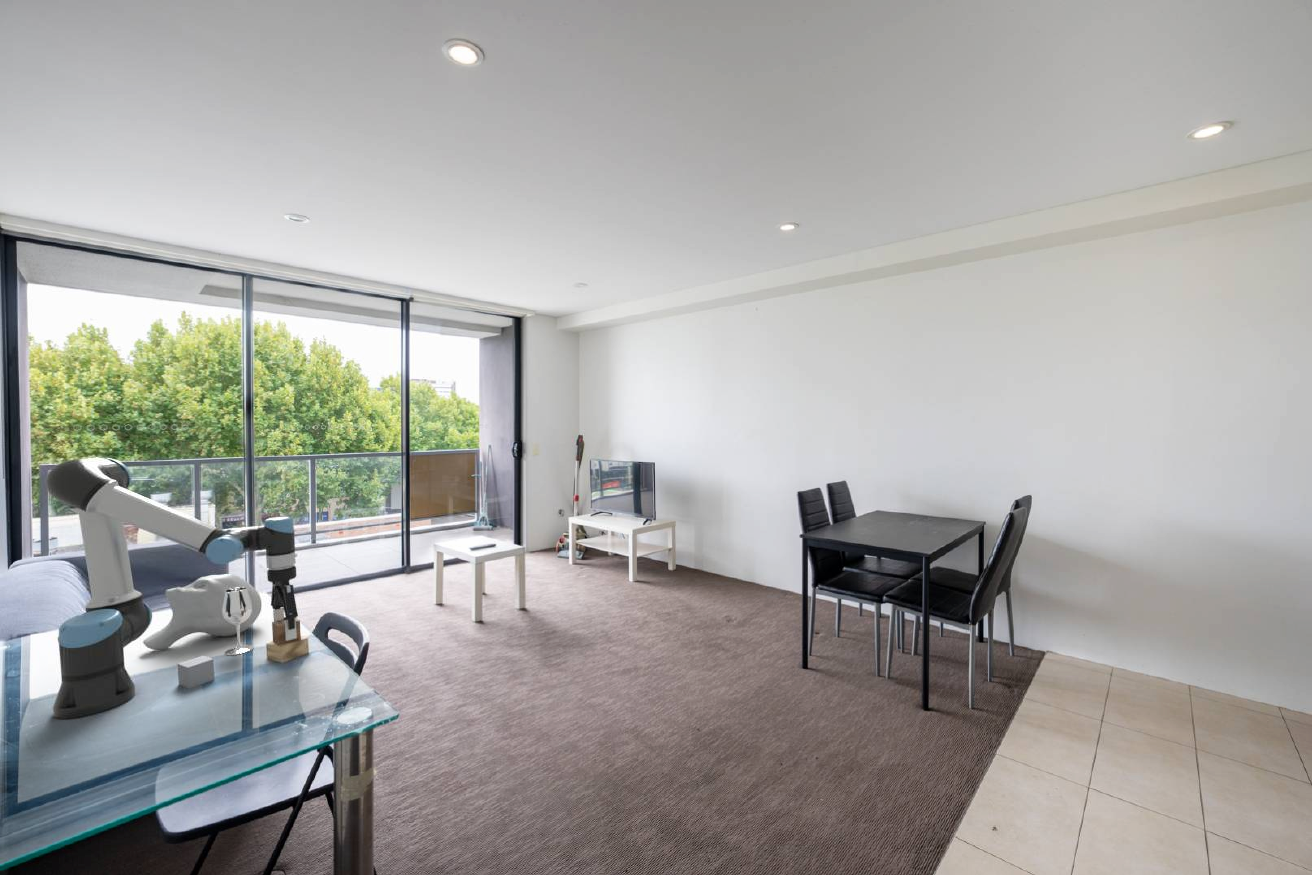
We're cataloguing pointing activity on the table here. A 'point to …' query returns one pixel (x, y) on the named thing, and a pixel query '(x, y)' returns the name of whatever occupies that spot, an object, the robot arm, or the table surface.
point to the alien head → (202, 610)
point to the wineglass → (237, 614)
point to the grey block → (195, 671)
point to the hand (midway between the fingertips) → (285, 634)
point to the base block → (287, 650)
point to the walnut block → (283, 632)
